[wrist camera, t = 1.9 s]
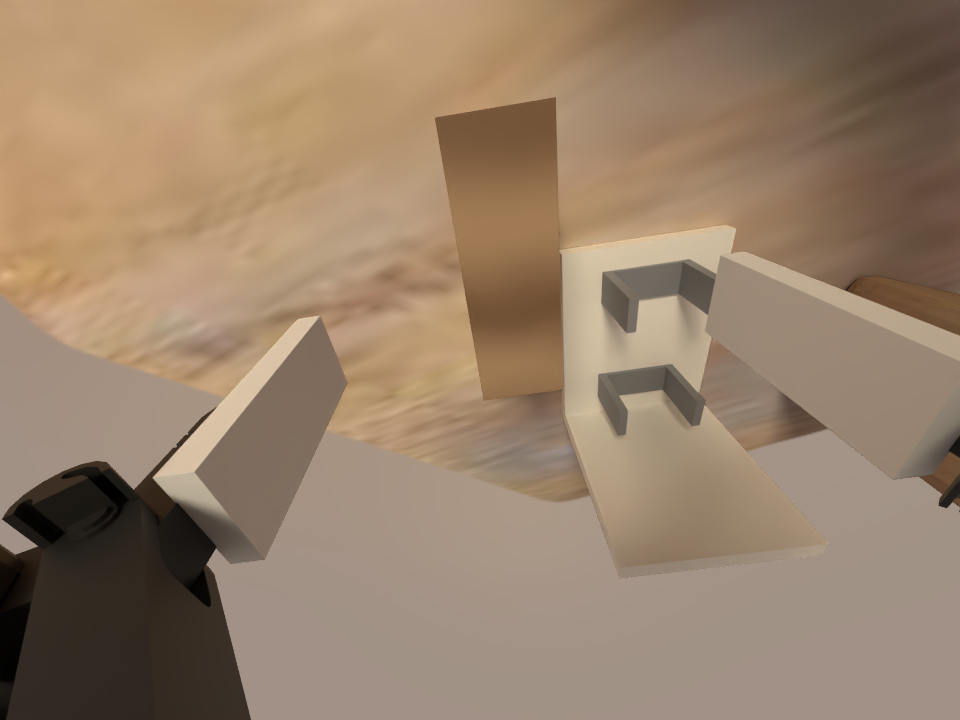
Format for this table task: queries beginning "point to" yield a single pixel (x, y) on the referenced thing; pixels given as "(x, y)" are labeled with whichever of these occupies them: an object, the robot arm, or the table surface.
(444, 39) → the table surface
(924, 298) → the wooden block
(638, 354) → the l-bracket with handles
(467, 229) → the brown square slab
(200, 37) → the table surface
